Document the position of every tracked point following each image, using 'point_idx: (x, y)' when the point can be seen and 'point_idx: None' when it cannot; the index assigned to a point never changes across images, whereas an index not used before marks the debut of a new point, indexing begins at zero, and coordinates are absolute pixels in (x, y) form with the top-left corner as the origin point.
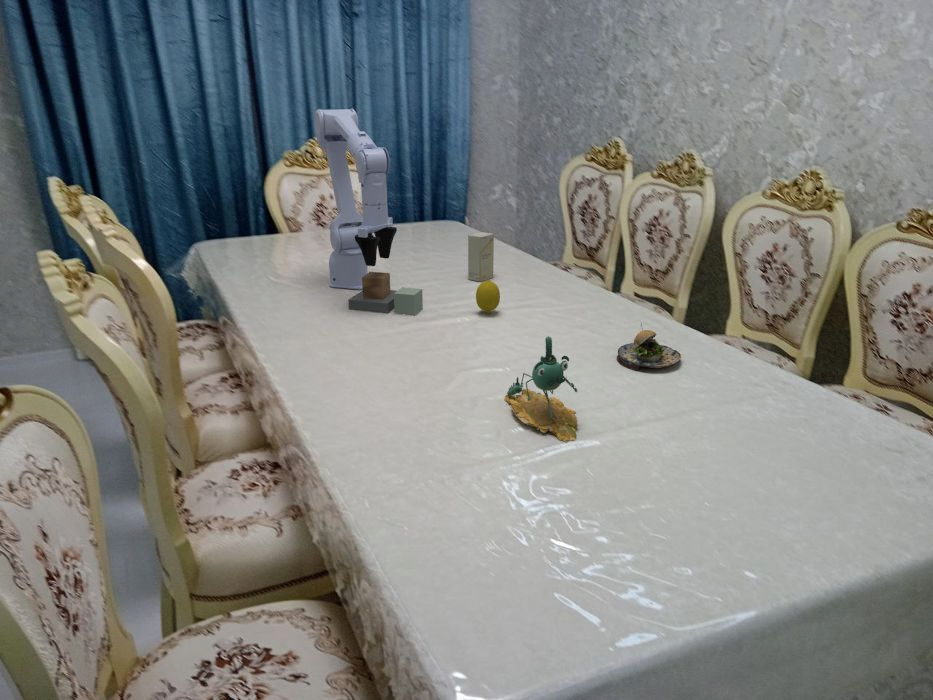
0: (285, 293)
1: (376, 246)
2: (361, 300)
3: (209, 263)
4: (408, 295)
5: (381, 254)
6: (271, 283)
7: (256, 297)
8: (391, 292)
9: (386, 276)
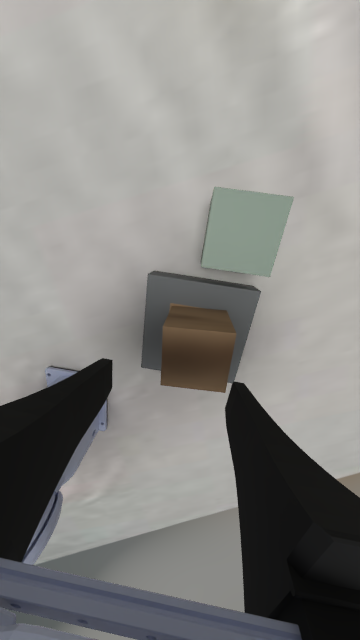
0: (156, 472)
1: (290, 459)
2: (238, 356)
3: (60, 556)
4: (285, 221)
5: (105, 392)
6: (114, 494)
7: (183, 496)
8: (165, 304)
9: (193, 327)
